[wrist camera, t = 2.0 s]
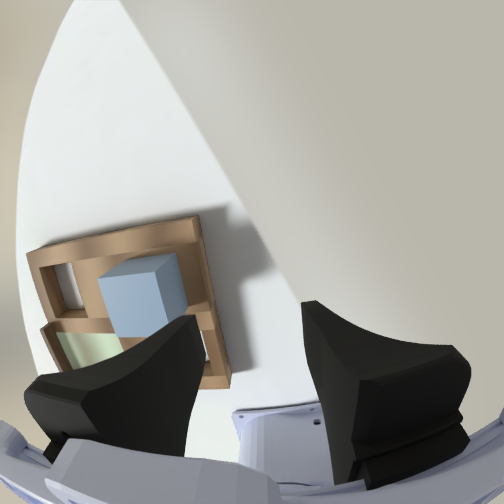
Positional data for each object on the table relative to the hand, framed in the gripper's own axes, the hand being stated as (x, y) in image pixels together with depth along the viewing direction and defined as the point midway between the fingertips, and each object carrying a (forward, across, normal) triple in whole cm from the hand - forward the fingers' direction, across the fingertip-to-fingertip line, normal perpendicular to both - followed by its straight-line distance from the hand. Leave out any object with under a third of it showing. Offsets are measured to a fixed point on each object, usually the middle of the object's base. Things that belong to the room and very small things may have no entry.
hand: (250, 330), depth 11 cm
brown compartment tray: (+9, +12, +3) cm, 16 cm away
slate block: (+7, +7, 0) cm, 10 cm away
